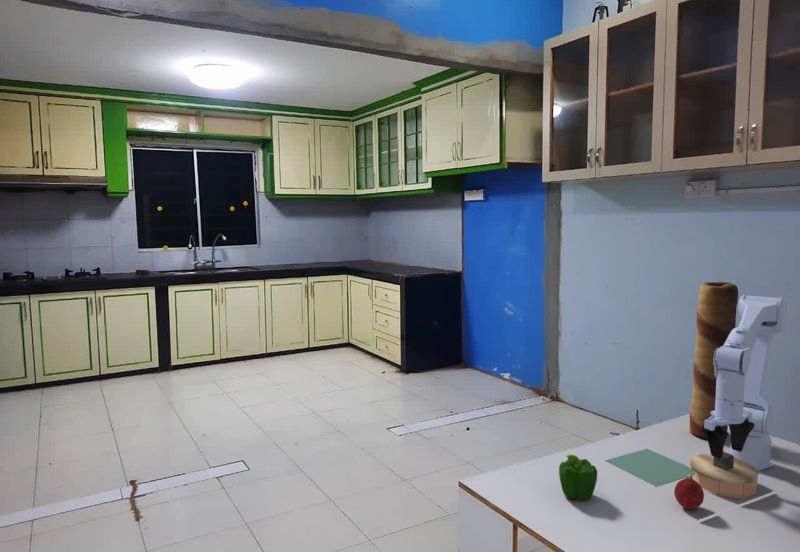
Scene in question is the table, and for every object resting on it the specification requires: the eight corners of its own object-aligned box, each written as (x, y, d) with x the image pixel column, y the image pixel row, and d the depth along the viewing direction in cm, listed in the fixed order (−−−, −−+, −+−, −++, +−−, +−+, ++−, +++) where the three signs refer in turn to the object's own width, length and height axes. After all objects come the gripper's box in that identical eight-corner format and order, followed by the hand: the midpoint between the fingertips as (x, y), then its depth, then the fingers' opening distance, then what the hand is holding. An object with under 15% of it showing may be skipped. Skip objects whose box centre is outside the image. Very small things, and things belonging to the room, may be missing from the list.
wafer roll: (739, 440, 161) (748, 284, 156) (706, 443, 159) (714, 285, 154) (712, 427, 172) (720, 280, 167) (681, 429, 170) (688, 281, 165)
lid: (714, 453, 144) (715, 438, 143) (771, 475, 131) (772, 459, 131) (677, 464, 138) (678, 449, 137) (732, 489, 125) (733, 472, 125)
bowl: (717, 471, 142) (717, 456, 142) (765, 492, 132) (766, 475, 131) (685, 481, 137) (685, 466, 137) (733, 504, 126) (734, 487, 126)
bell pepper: (596, 490, 134) (597, 449, 132) (596, 507, 126) (597, 464, 125) (559, 485, 136) (560, 445, 135) (557, 501, 129) (558, 459, 127)
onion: (706, 518, 121) (708, 482, 120) (677, 515, 122) (679, 480, 121) (698, 504, 127) (700, 470, 126) (670, 502, 128) (672, 468, 127)
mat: (647, 450, 155) (647, 448, 155) (700, 473, 141) (700, 472, 141) (604, 462, 148) (604, 460, 148) (656, 488, 134) (656, 486, 134)
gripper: (732, 388, 139) (729, 441, 140) (693, 397, 132) (690, 453, 134) (761, 396, 132) (758, 452, 134) (722, 406, 126) (719, 464, 128)
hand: (726, 453), depth 134 cm, fingers open, 7 cm apart
